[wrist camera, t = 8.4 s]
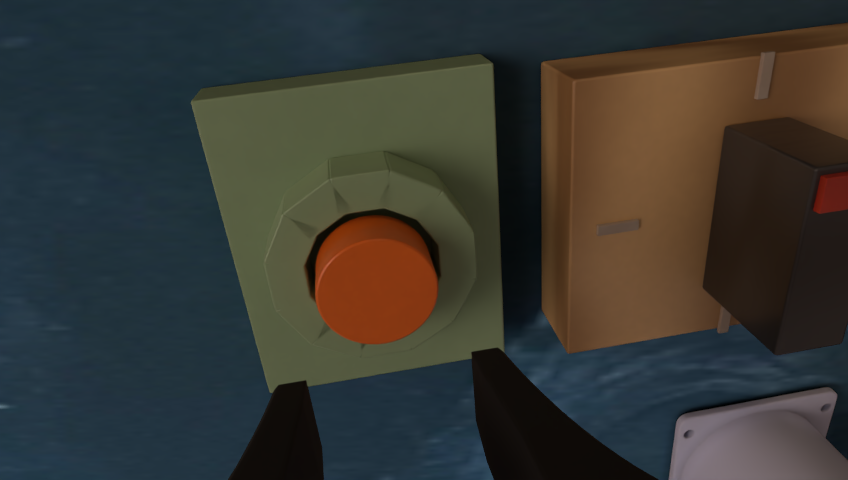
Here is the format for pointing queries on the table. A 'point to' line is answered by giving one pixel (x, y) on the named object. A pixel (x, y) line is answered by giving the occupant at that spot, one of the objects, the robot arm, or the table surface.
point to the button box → (359, 203)
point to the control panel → (660, 171)
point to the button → (375, 280)
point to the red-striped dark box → (781, 234)
